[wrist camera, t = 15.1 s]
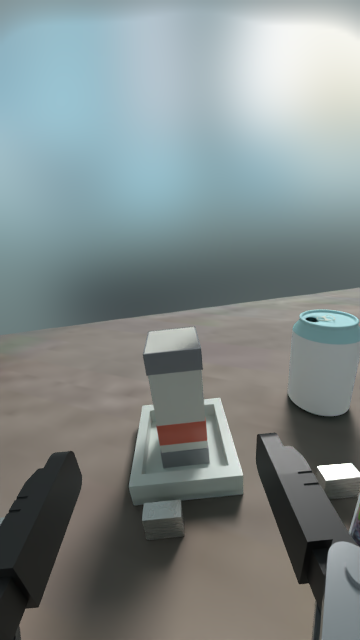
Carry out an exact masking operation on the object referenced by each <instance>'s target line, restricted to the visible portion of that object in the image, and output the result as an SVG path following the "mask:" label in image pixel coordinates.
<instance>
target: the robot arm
mask: <svg viewBox="0 0 360 640" xmlns="http://www.w3.org/2000/svg"><path fill="white" fill-rule="evenodd" d="M256 464H257V469H258V473H259V476H260V479H261V482H262V484H263V487H264V490H265V493H266V495H267V498H268V501H269V504H270V506H271V509H272V512H273V514H274V517H275V520H276V523H277V525H278V528H279V531H280V534H281V536H282V539H283V542H284V545H285V547H286V550H287V553H288V556H289V558H290V561H291V564H292V566H293V569H294V572H295V575H296V577H297V580H298V583H299V584H306V583H309V584H310V587H311V589H312V592H313V594H314V597H315V599H316V601H315V611H314V621H313V632H312V640H360V546H359V545H358V544H357V543H356V542H355V541H354V539H353V538H352V537H351V535H350V534H349V532H348V530H347V529H346V527H345V525H344V524H343V522H342V520H341V519H340V517H339V515H338V514H337V512H336V510H335V509H334V507H333V505H332V504H331V502H330V500H329V499H328V497H327V495H326V494H325V492H324V490H323V489H322V487H321V485H319V482H318V480H317V479H316V477H315V475H314V473H312V470H311V468H310V467H309V465H308V463H307V462H306V460H305V458H304V457H303V456H302V455H301V454H300V453H299V452H298V451H297V450H296V449H295V448H294V447H293V446H283V444H282V442H281V440H280V439H279V437H278V435H277V434H276V433H267V434H258V435H257V447H256ZM81 485H82V475H81V472H80V469H79V466H78V463H77V460H76V457H75V455H74V452H72V451H68V452H57V453H53V454H52V455H51V456H50V458H49V459H48V461H47V463H46V465H45V467H44V468H41V469H38V470H37V471H36V472H35V473H34V474H33V475H32V476H31V477H30V478H29V479H28V480H27V481H26V483H25V484H24V486H23V488H22V489H21V491H20V493H19V494H18V496H17V499H16V500H15V501H14V503H13V504H12V506H11V508H10V510H9V513H8V514H7V515H6V516H5V518H4V520H3V521H2V523H1V525H0V640H21V635H20V627H19V624H20V621H21V618H22V616H23V613H24V611H25V609H26V608H37V607H39V605H40V602H41V599H42V596H43V593H44V591H45V588H46V585H47V582H48V579H49V577H50V574H51V571H52V568H53V565H54V563H55V560H56V557H57V554H58V552H59V549H60V546H61V543H62V540H63V538H64V535H65V532H66V529H67V526H68V524H69V521H70V518H71V515H72V513H73V510H74V507H75V504H76V501H77V499H78V496H79V493H80V490H81Z"/></svg>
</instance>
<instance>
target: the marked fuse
mask: <svg viewBox="0 0 360 640" xmlns="http://www.w3.org/2000/svg"><path fill="white" fill-rule="evenodd" d="M143 358H144V364H145V369H146V375H147V376H148V378H149V384H150V389H151V395H152V401H153V406H154V412H155V418H156V423H157V426H156V427H157V433H158V438H159V444H160V446H161V459H162V464H163V468H171V467H180V466H189V465H199V464H208V463H210V460H209V448H208V442H207V428H206V419H205V410H204V397H203V384H202V371H201V370H203V368H202V354H201V346H200V343H199V339H198V335H197V332H196V328H195V327H186V328H177V329H167V330H158V331H149V332H148V335H147V339H146V344H145V348H144V352H143Z"/></svg>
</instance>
